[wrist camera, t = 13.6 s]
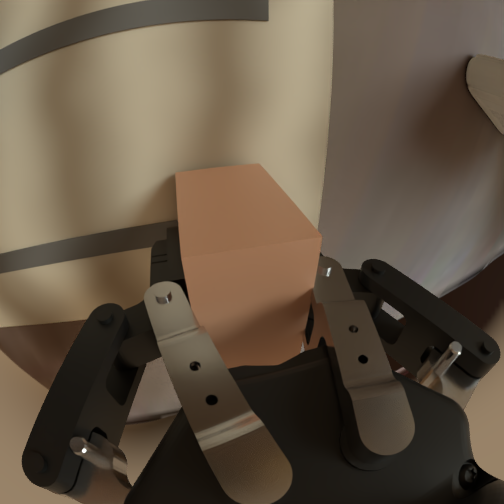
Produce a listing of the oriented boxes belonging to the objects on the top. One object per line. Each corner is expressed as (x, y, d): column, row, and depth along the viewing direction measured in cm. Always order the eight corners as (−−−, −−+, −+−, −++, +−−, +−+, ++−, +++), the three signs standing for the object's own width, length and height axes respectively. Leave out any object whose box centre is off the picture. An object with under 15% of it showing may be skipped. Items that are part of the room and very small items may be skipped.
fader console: (311, -52, 7) (331, -63, 6) (297, 264, 19) (309, 284, 18) (-66, 42, 3) (-86, 45, 1) (5, 307, 15) (-3, 328, 13)
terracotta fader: (259, 163, 12) (322, 236, 7) (258, 271, 16) (297, 362, 11) (175, 172, 11) (181, 257, 7) (191, 281, 15) (209, 382, 10)
